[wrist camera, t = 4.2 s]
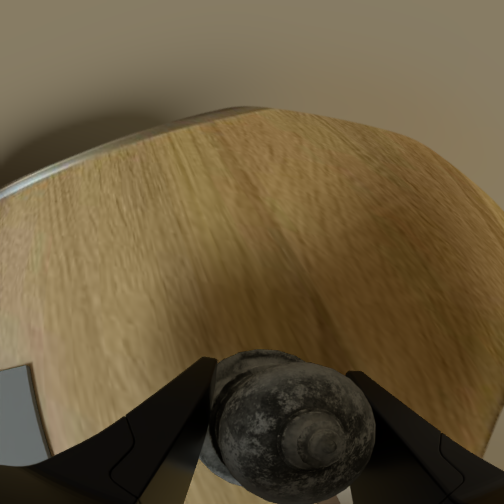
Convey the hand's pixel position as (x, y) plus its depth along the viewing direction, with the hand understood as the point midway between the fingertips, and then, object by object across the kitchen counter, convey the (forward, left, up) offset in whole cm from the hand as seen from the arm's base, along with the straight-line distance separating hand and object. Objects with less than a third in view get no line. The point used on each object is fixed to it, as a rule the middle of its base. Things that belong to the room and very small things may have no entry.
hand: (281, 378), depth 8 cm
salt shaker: (-1, +1, -7) cm, 7 cm away
